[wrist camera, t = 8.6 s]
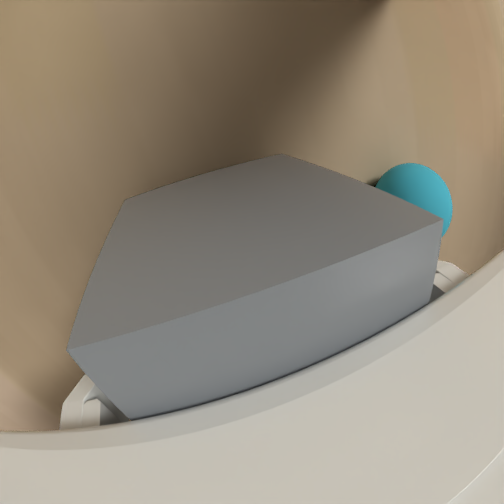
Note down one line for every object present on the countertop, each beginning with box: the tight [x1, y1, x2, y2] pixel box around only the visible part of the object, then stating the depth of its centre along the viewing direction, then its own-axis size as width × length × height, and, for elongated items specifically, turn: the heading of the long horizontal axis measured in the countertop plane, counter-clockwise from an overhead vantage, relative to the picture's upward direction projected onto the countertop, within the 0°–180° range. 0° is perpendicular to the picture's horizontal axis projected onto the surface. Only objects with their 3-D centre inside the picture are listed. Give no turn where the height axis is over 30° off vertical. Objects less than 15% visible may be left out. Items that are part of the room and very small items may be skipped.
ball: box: [375, 163, 452, 238], centre depth 14 cm, size 5×5×5 cm
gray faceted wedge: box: [66, 154, 444, 421], centre depth 10 cm, size 7×7×9 cm
